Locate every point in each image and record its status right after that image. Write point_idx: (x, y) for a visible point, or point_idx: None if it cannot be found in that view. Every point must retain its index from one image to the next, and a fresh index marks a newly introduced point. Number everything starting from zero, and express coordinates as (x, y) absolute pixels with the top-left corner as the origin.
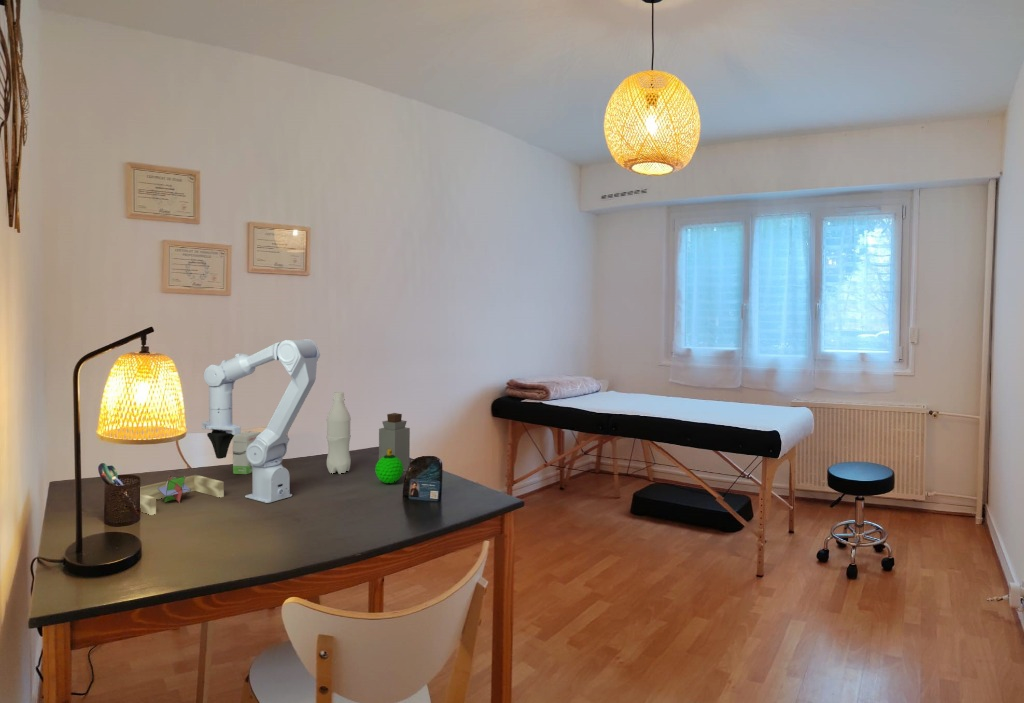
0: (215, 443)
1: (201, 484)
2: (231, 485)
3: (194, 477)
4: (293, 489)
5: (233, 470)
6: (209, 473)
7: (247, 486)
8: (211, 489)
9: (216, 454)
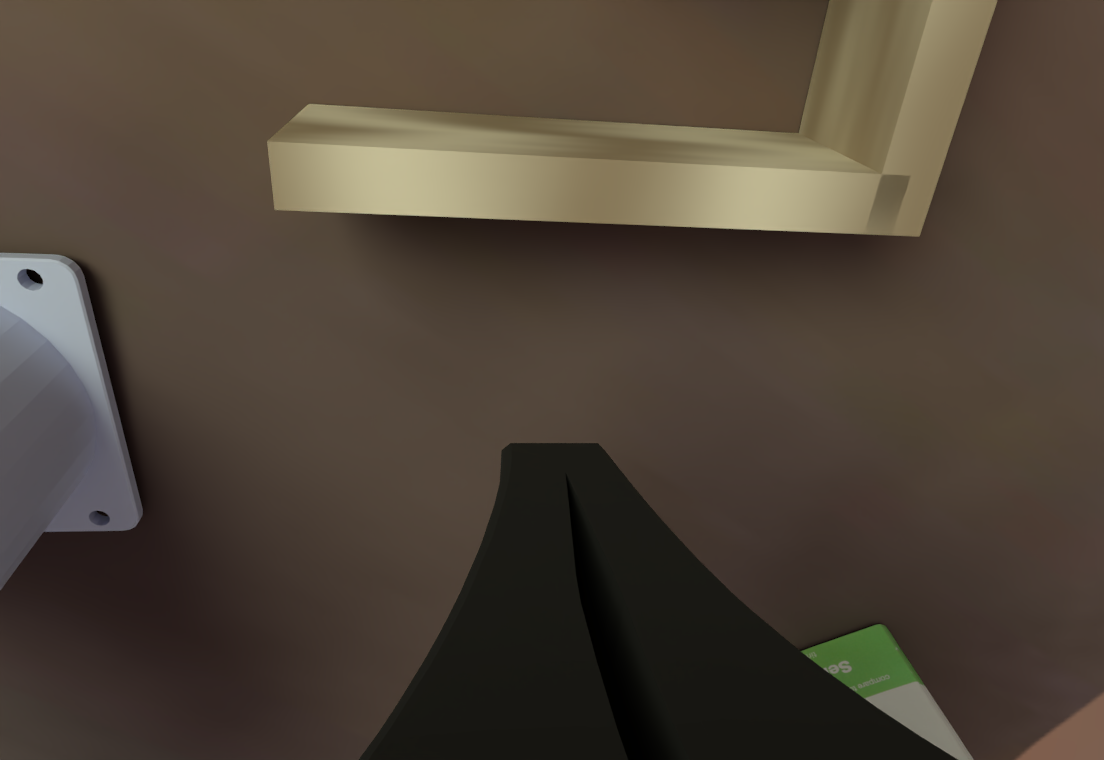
0: (593, 668)
1: (691, 144)
2: (618, 441)
3: (869, 168)
4: (48, 636)
5: (891, 646)
6: (1075, 541)
7: (464, 495)
8: (473, 126)
9: (577, 474)
